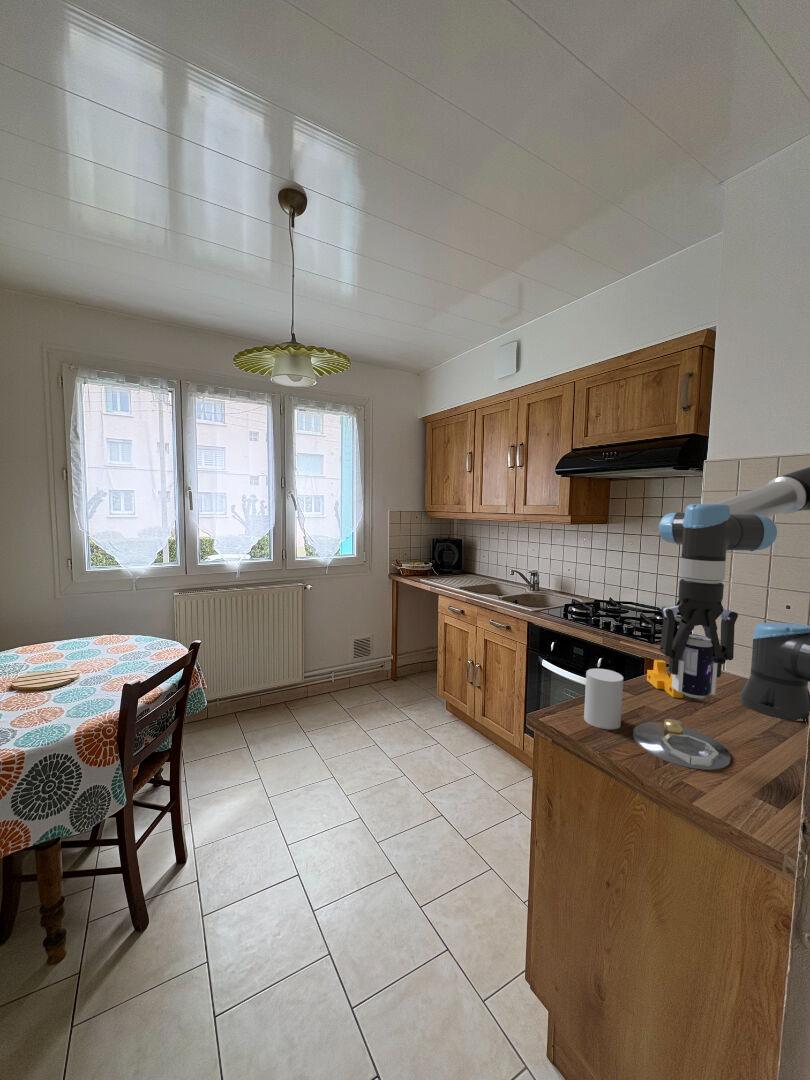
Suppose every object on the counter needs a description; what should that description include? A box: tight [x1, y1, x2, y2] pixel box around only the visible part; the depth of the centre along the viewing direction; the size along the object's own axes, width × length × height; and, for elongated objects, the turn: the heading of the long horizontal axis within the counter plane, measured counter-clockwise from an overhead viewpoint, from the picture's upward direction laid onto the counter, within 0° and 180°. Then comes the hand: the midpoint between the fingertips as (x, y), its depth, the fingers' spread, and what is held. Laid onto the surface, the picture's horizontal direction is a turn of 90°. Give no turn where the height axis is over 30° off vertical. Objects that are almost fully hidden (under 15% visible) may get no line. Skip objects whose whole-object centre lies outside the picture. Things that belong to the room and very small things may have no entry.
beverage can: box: [680, 633, 713, 699], centre depth 90 cm, size 6×6×12 cm
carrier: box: [632, 718, 732, 771], centre depth 96 cm, size 18×18×4 cm
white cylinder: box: [583, 668, 624, 730], centre depth 106 cm, size 8×8×12 cm
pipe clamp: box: [646, 659, 684, 699], centre depth 128 cm, size 12×4×6 cm, turn 175°
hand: (693, 690), depth 91 cm, fingers closed on beverage can, 6 cm apart
